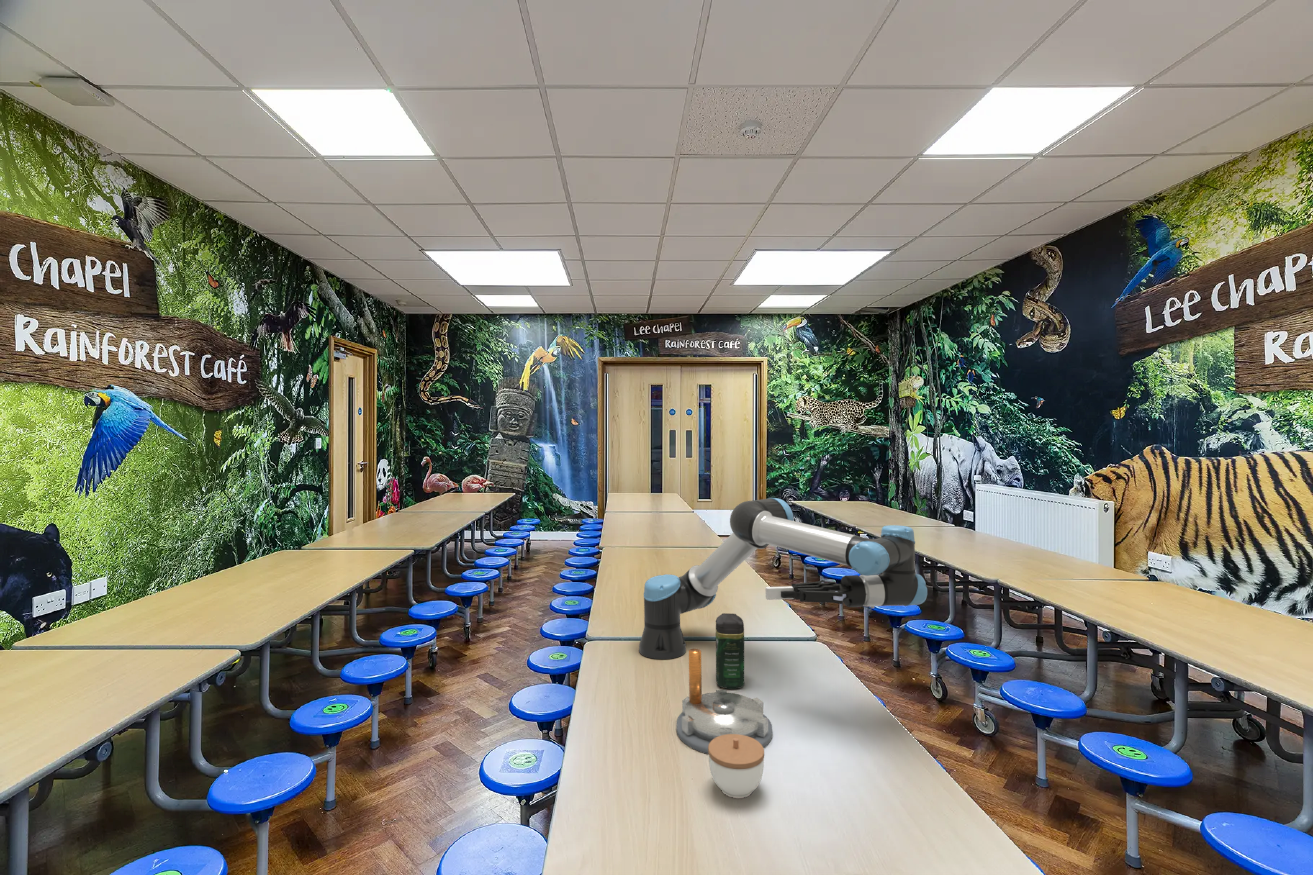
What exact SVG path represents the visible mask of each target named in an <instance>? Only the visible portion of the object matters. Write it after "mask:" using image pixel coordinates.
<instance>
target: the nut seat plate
mask: <svg viewBox="0 0 1313 875" xmlns="http://www.w3.org/2000/svg"><path fill="white" fill-rule="evenodd" d="M683 716H685V714H684V713H682V712H681V713H680V714H679V715H678V717H677V719H676V733H677V734H676V735H677V736H678V738H679V739H680V741H681V742H682V743H684V745H686V746H688V747H689V748H691V749H693V750H695V751H697V752H701V753H702V754H703V753H704V754H707V755H709V754H708V745H709V743H710V742H711V741H709V740H705V739H703V738H700V737H698V736H696V735H694V734H692V735H686V734H685V733H684V732H683V731H682V717H683ZM763 717H764V718H767V719H768V733H767V734H766V735H765V736H764V737H761V736H758V735H757V736H756V737H754V738H753V739H755V740H757V741H758V742H759V743H760V744H761V745H762V746H763V748H764V749H766V747H767V746H768V745H769V744H770V743H771V741H772V739H773V724H772V722H771V720H770V719H769V718H768V717H767V716H766V715H765V714H764V713H763Z"/></svg>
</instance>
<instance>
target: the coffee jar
mask: <svg viewBox="0 0 1313 875" xmlns="http://www.w3.org/2000/svg"><path fill="white" fill-rule="evenodd" d="M715 680H716V684H717V686H718V687H720V688H723V689H726V690H736V689H740V688H743V687H744V686H745V625H744V620H743V618H742V617H740V616H739V615H737V614H736V613H726V612H725V613H724V612H723V613H721V614H720V615H718V616H717V617H716V618H715Z"/></svg>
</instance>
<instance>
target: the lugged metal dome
mask: <svg viewBox="0 0 1313 875" xmlns="http://www.w3.org/2000/svg"><path fill="white" fill-rule="evenodd" d="M688 683H689V684H688V696H686V697H685V698H684V699H682V701H681V702H682V704H681V705H682V709H681V710H682V712H681V713H684V714H685V716H683V717H682V731H683V732H684V733H685V734H686V735H692V734H694V735H696V736H698V737H700V738H703V739H705V740H709V741H712V740H713V739H714V738H716V737H718V736H721V735H727V734H739V735H745V736H748V737H751V738H754V737H756V736H757V735H758V736H761V737H764V736H765V735H766V734H767V733H768V719H769V718H768V717H767V718H768V719H767V718H764V717H763V714H764V701H763V700H761V699H759V698H758V697H754V698H750V697H749V696H747V695H742V694H739V693H733V692H727V690H728V689H715V692H714V691H713V692H706V693H702V692H703V689H702V687H703V686H702V684H703V682H702V650H701V649H700V648H691V649H688Z"/></svg>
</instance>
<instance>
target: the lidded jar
mask: <svg viewBox="0 0 1313 875" xmlns="http://www.w3.org/2000/svg"><path fill="white" fill-rule="evenodd" d="M707 755H708V763H709V770H710V775H711V777H712V779H713V782H714V783H715V785H716V786H717V787H718V788H719V789H720V791H721V790H722V791H721V792H722V793H723V794H724V795H725V794H726V795H725V796H727V795H728V796H727V797H729V798H731V797H733V798H732V799H745V798H747V797H749V796H750V794H752V793H753V792H754V791H755V790H756V789H757V788H758V786H760V783H761V780H762V778H763V774H764V768H765V767H764V766H765V765H764V763H765V762H764V761H765V748H763V746H762V745H761V744H760V743H759V742H758V741H757V740H755V739H753V738H751V737H748V736H745V735H739V734H727V735H721V736H718V737H716V738H714V739H713V740H712V741H711V742H710V743H709V745H708V754H707ZM744 797H745V798H744Z"/></svg>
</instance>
